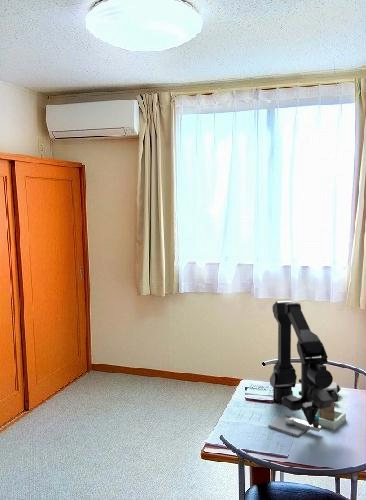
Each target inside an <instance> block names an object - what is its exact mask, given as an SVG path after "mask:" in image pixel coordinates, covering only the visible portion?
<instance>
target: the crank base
mask: <svg viewBox="0 0 366 500" xmlns="http://www.w3.org/2000/svg"><path fill="white" fill-rule="evenodd" d="M287 416H291V415H290V414H287V413H283V414H282V415H281V416H279V417H278V418H276V419H275V420H273V421H272V422H270V423H269V424H268V425H267V428H270V429H272V430H276V431H278V432H281V433H285V434H288V435H290V436H294V437H297V438H299V437H300V436H301V435H302V434H304V433H305V432H306V431H307V430H308V429H307V428H304V427H301V426H298V425H293V426H290V425H287V424H286V423H285V417H287ZM294 417H295V418H296V419H299V420H302V421H306V422H307V419H306V420H305V419H302V418H299V417H296V416H294Z"/></svg>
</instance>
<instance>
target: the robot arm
mask: <svg viewBox="0 0 366 500" xmlns="http://www.w3.org/2000/svg"><path fill="white" fill-rule="evenodd" d="M301 306H302V305H301V303H300V302H297V301H296V302H295V301H293V300H279V301H275V302H274V303H273V304H272V308H271V309H272V314H273V317H274V319H275V321H276V322H277V325H278V326H277V327H278V328H277V333H278V334H277V361H276V362H275V364H274V366H273V370H272V371H273V372H272V373H271V375H270V377H269V384H270V386H271V387H272V389H273V390H272V393H273V394H272V395H273V397H272V399H271V401H270V402H271V403H273V404H277V405H281V406H283V407H285V408H287V409H289V410H290V411H291V412H296V411H300V410H301V411H302V413H303V415H304V417H305V419H306V421H307V422H308V424H309V425H312V424H313V421H314V418H315V416H316V413H317V411H318V409H324V408H327V407H331V405H332V403H338V400H339V395H338V394H339V393H336V391H335V390H334V389H332V390H330V389H328V387H329V386H330V385H331V384H332V382H334V380H333V379H334V377H333V374H332V373H331V372H330V371H329V370H328V369H327V366H326V365H325V364H328V354H327V351H326V348H325V345H324V344H323V342H322V341H321V339H320V337H319V336H318V334H316V333H314V332H312V331H311V329H310V326H309V324H308V321H307V320H306V318H305V315H304V314H303V311H302V307H301ZM292 328H293V330H294V333H295V335H296V337H297V343H296V350H297V354H298V356H299V360H300V361H301V362H300V363H301V364H300V365H301V367H300V369H301V370H300V371H301V372H300V373H301V375H300V377H301V378H298V383H300V384H301V386H300V389H301V390H299V391H298V396H301V397H297V396H295V395H294V392H293V390H292V388H296V383H297V377H298V376H297V374H296V371H297V370H296V368H295V367H294V366H293V364H292V363H291V360H292V359H291V358H292V347H291V346H292Z"/></svg>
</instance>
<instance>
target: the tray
mask: <svg viewBox="0 0 366 500" xmlns="http://www.w3.org/2000/svg"><path fill="white" fill-rule="evenodd" d="M319 412H320V409H318V411H317V413H316V414H318V415H319ZM346 418H347V413H346V412H344V411H341V410H340V411H339V410H336V409H334V421H330V420H326V419H323V418H320V417H319V426H321V428H326V429H329V430H332V431H335V430H337V429H338V428H339V427H340V426H341V425H342V424H344V422H345V421H346V420H347V419H346Z"/></svg>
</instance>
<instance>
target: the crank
mask: <svg viewBox="0 0 366 500" xmlns="http://www.w3.org/2000/svg"><path fill="white" fill-rule="evenodd" d="M295 417H296V416H292V415H290V416H287V417H285V423H286V424H287V425H290V426H293V425H298V426H301V427H304V428H307V430H309V431H310V430H311V431H314V432H317V433H319V432H320V431H322V426H319V415H318V414H316V416H315V418H314V421H313V424H312V425H309V424H308V422H306V421H307V420H306V421H302V420H299V419H296V418H295Z"/></svg>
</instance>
